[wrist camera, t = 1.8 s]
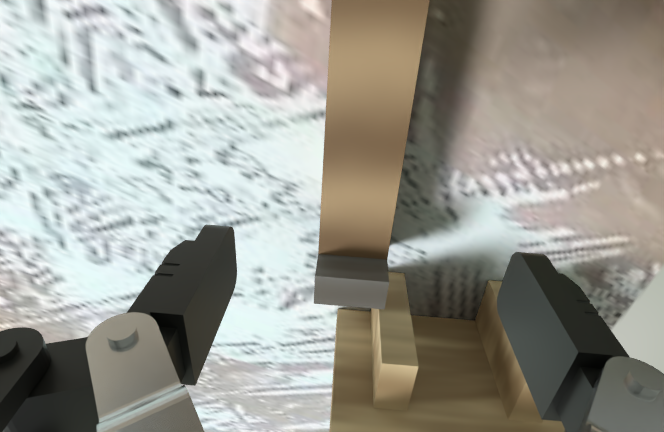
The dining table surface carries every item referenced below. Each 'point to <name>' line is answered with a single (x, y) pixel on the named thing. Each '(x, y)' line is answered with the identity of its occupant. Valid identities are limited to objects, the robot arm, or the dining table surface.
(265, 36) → the dining table surface
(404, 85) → the rail
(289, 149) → the dining table surface
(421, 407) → the wooden post stand
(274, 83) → the dining table surface
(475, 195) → the dining table surface
